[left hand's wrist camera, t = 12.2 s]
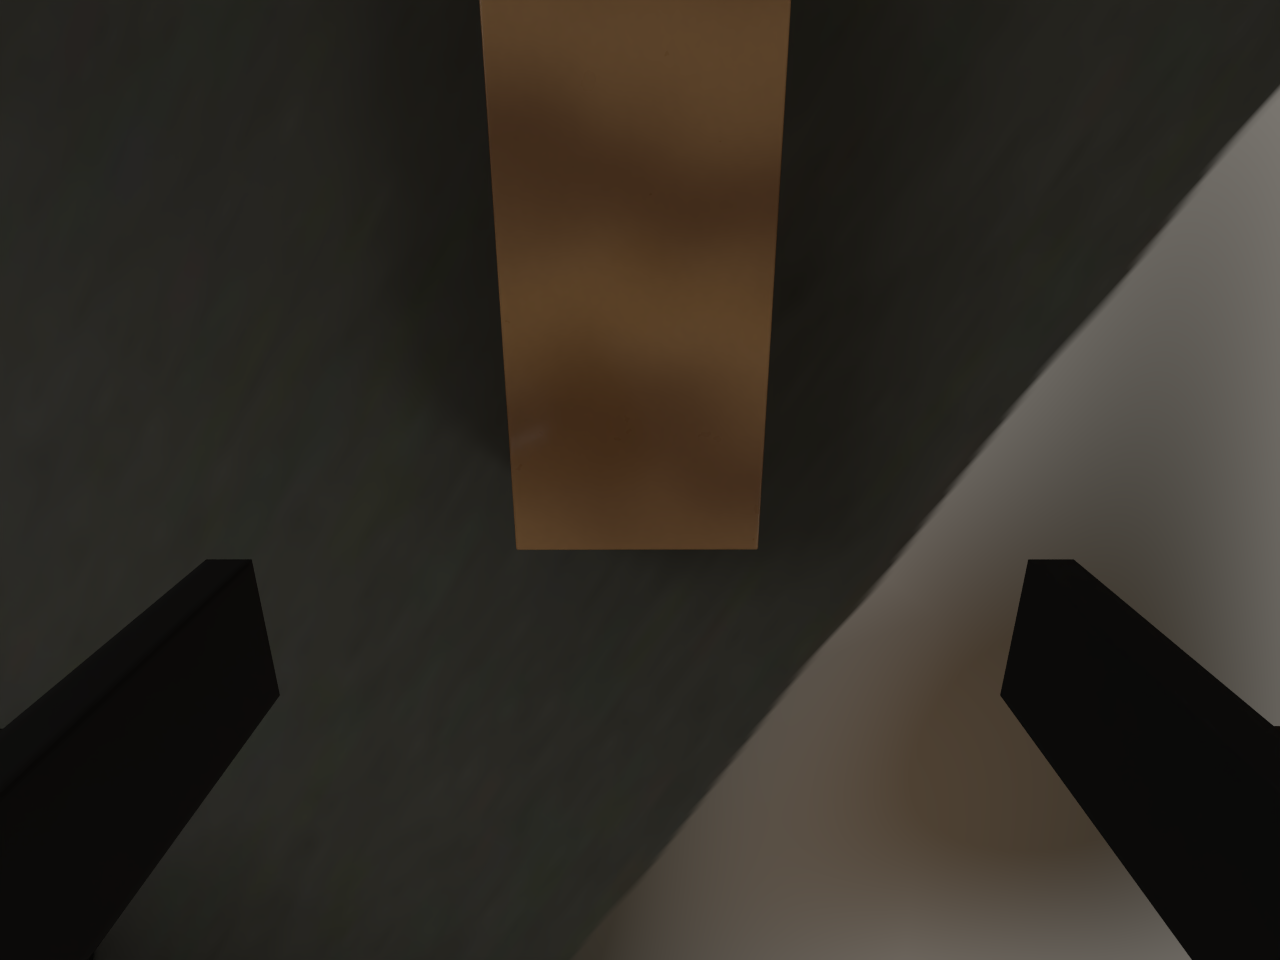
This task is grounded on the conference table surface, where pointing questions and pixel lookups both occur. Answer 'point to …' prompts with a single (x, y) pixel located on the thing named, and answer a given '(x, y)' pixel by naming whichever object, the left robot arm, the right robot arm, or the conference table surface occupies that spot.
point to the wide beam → (636, 263)
